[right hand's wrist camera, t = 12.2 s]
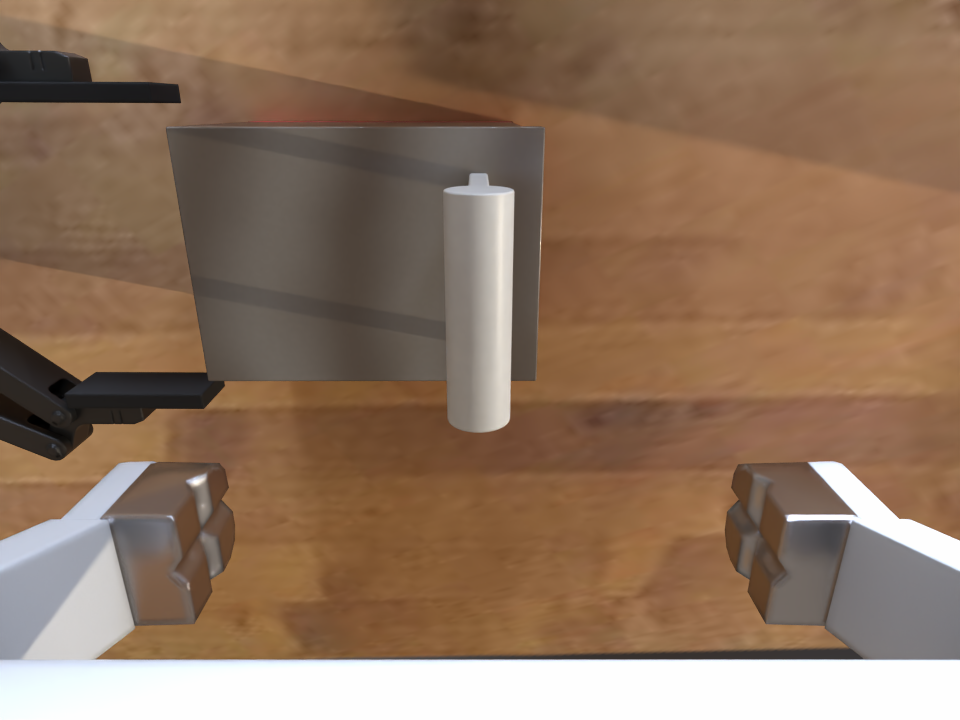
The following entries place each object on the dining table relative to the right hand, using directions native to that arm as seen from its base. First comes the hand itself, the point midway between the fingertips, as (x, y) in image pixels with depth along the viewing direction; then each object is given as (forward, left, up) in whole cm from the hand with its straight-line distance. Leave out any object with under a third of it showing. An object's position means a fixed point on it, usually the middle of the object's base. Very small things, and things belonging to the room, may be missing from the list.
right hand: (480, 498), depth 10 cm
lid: (+2, -4, -18) cm, 18 cm away
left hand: (+6, -12, -20) cm, 24 cm away
